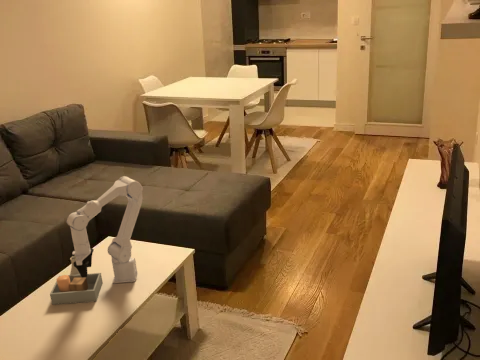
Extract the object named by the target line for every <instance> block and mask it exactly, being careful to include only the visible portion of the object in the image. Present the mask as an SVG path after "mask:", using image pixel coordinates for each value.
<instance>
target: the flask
mask: <svg viewBox="0 0 480 360" xmlns="http://www.w3.org/2000/svg"><path fill="white" fill-rule="evenodd" d="M69 260H70V262H71V268H70V273H69V275H79V274H80V273H79V271H78V270H77V268H76V267H74V265H73V263H74V261H76V256H75V255H72V256H71V257H70V258H69Z"/></svg>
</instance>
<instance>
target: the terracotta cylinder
mask: <svg viewBox="0 0 480 360" xmlns="http://www.w3.org/2000/svg"><path fill="white" fill-rule="evenodd" d="M59 276H60V277H59ZM59 276H58V277H57V278H56V281H57V284H58V288H59V292H71V288H70V283H71V282H70V278H69V276H68V274H63V275H59Z"/></svg>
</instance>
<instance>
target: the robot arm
mask: <svg viewBox="0 0 480 360" xmlns="http://www.w3.org/2000/svg"><path fill="white" fill-rule="evenodd" d="M143 190H144V187H143V186H142V184H141V182H139V181H137V180H135V179H132V178H130V177H129V176H127V175H126V176H125V175H123V176H120V177H119V179H117V180H115V181H114V183H113V185H112V186H111V187H110V188H108V189H107V190H106V191H105V192H104V193H103V194H102V195H101V196H99V197H98V198H97V199H96V200H95V199H94V200H93V199H92V200H90V201H89V200H88V201H87V202H86V204H84V205H83V206H82V207H81V208H79V209H77V210H76V211H75V212H71V213H70V214H69V215H68V216H67V218H66V219H67V220H65V221H66V224H67V225H68V226H69V228H70V232H71V238H72V239H71V240H72V243H73V247H74V250H73V251H72V256H76V261H74V263H73V265H74V267H76V268H77V270H78V271H79V273H80V275H81V277H87V274H88V268H91V267H92V263H93V262H92V260H93V259H92V258H93V255H94V254H93V253H94V250H95V249H94V248H92V247H91V245H90V241H89V235H88V233H87V227H88V224H89V222H90V221H91V220H92V219H93V218H95V216H97V215H98V214H99V213H101V212H102V208H103V207H104V206H106V205H107V204H109V203H110V202H112V201H113V200H114V199H115V198H117V197H126V199H127V201H128V202H127V205H126V208H125V211H124V214H123V216H122V220H121V222H120V223H121V224H120V225H119V229H118V232H117V235H116V236H115V237H114V238H112V241H111V243H110V244H109V246H108V247H107V254H108V255H109V256H110V257H111V264H112V269H113V270H112V271H113V280H112V284H120V283H121V284H123V283H132V282H136V280H137V279H136V278H137V275H138V268H137V262H136V258H135V257H132V248H133V245H132V242H131V237H132V235H133V232H134V229H135V225H136V223H137V219H138V216H139V214H140V210H141V207H142V205H143V204H142V203H143V200H144V198H143V197H144V196H143Z"/></svg>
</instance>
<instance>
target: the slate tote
mask: <svg viewBox="0 0 480 360" xmlns="http://www.w3.org/2000/svg"><path fill="white" fill-rule="evenodd" d="M67 275H68V274H67ZM60 276H61V275H59V276H58V277H60ZM68 276H69V278H70V282H72V280H73V279H74V278H86V279H87V284H88V289H87V290H85V291H72V292H59V288H58V284H57V280H56V281H55V283H54V285H53V287H52V289H51V291H50V293H49V295H50V296H49V297H50V302H51V305H52V306H54V305H55V306H56V305H69V304H80V303H92V302H97V300H98V299H99V295H100V292H101V289H102V286H103V284H104V283H103V278H102V272H96V273H95V272H94V273H87V277H81V275H80V274H79V275H70V274H69V275H68Z"/></svg>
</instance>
